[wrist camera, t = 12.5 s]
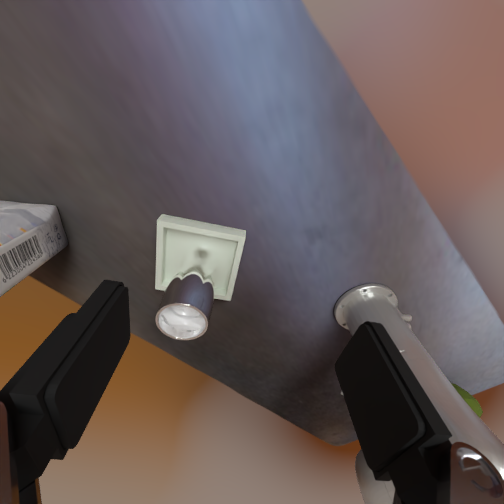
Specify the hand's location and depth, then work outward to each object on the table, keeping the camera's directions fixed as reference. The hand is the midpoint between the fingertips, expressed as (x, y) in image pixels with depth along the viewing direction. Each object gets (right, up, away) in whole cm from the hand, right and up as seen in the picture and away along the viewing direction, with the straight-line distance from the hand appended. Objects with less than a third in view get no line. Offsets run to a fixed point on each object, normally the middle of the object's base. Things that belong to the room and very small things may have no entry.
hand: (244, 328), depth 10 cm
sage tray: (-9, +2, +34) cm, 35 cm away
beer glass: (-9, +2, +34) cm, 35 cm away
